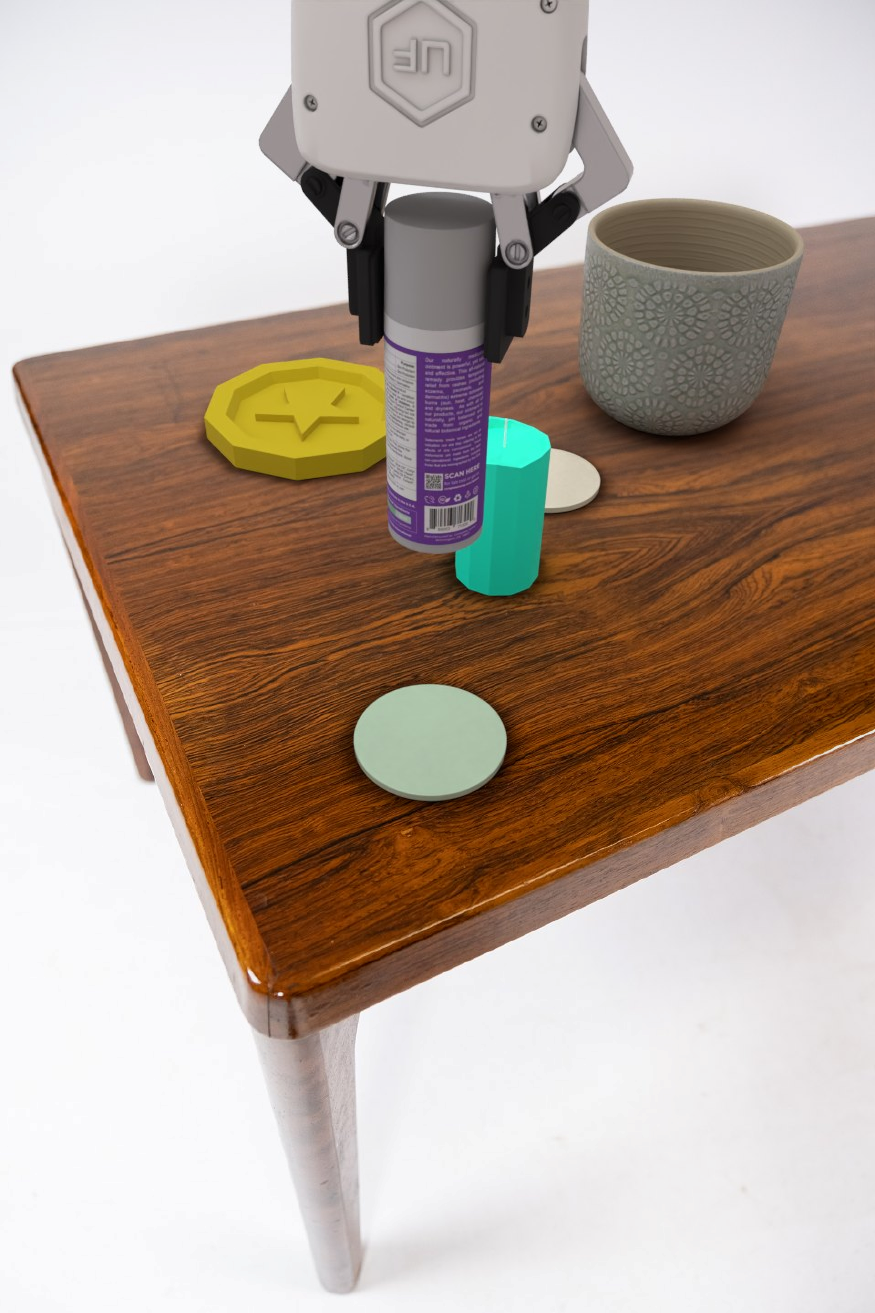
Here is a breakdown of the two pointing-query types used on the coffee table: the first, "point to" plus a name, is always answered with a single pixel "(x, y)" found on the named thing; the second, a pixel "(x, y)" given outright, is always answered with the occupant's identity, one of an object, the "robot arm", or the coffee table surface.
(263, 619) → the coffee table surface
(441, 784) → the near coaster
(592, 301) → the planter
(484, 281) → the container
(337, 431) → the decorative disc
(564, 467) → the far coaster
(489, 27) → the robot arm
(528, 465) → the candle
